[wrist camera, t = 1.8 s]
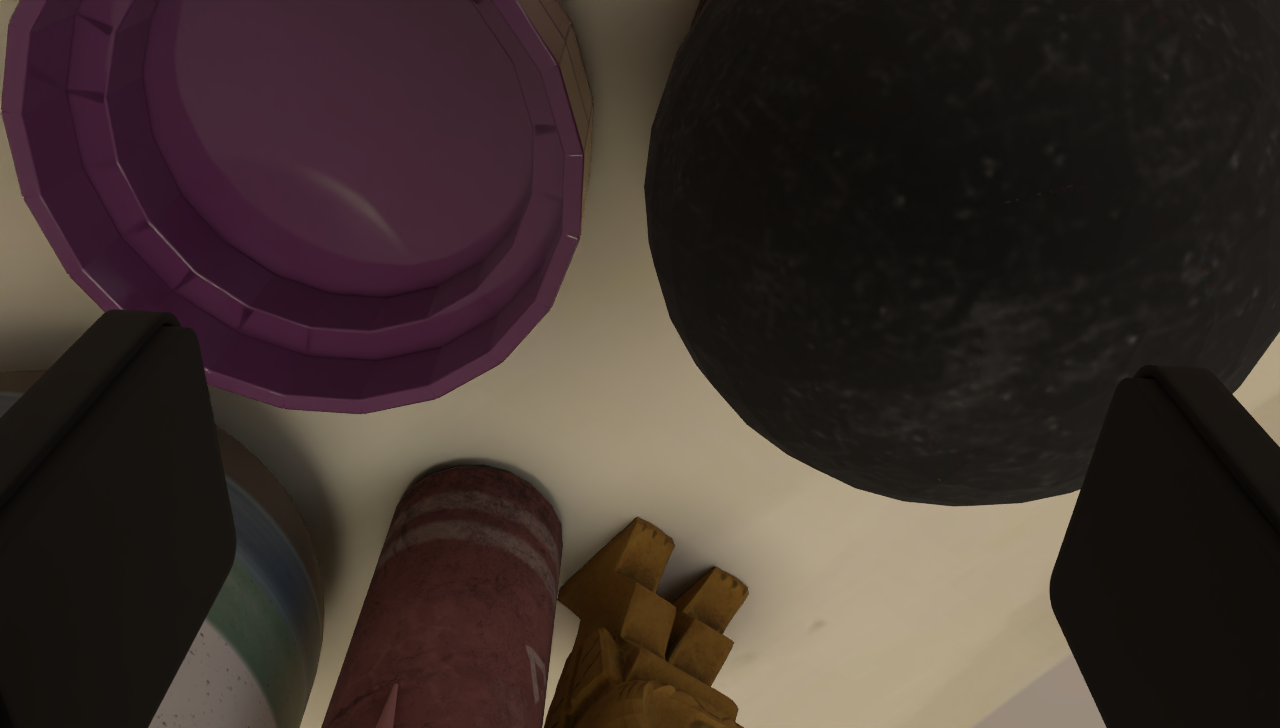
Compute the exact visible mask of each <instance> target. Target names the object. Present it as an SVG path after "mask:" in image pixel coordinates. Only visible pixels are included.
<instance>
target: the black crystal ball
mask: <svg viewBox="0 0 1280 728" xmlns="http://www.w3.org/2000/svg"><path fill="white" fill-rule="evenodd" d="M644 189H645V202H646V214H647V226H648V239H649V245H650V250H651V254H652V258H653V262H654V266H655V270H656V273H657V276H658V280H659V283H660V286H661V290H662V293H663V296H664V299H665V303H666V306H667V309H668V313H669V316H670V319H671V321H672V323H673V324H674V326H675V328H676V330H677V332H678V333H679V335H680V337H681V339H682V341H683V342H684V344H685V346H686V348H687V349H688V351H689V353H690V355H691V357H692V358H693V360H694V362H695V364H696V365H697V366H698V368H699V369H700V370H701V372H702V373H703V374H704V375H705V377H706V378H707V379H708V380H709V382H710V383H711V384H712V385H713V387H714V388H715V389H716V390H717V391H718V392H719V393H720V395H721V396H722V397H723V398H724V399H725V400H726V401H727V402H728V404H729V405H730V406H731V407H732V408H733V409H734V410H735V412H736V413H737V414H738V415H739V416H740V417H741V418H742V419H743V421H744V422H745V423H746V424H747V425H748V426H750V427H751V428H752V429H754V430H755V431H756V432H758V433H759V434H760V435H762V436H763V437H764V438H766V439H767V440H768V441H770V442H771V443H773V444H774V445H775V446H777V447H778V448H779V449H781V450H782V451H783V452H785V453H786V454H787V455H789V456H791V457H793V458H795V459H797V460H799V461H801V462H803V463H805V464H807V465H809V466H811V467H812V468H815V469H817V470H819V471H821V472H823V473H825V474H827V475H829V476H831V477H833V478H835V479H837V480H840V481H842V482H844V483H846V484H848V485H850V486H852V487H854V488H857V489H860V490H864V491H868V492H871V493H875V494H879V495H882V496H886V497H890V498H893V499H897V500H901V501H906V502H916V503H926V504H936V505H946V506H976V505H994V504H1012V503H1024V502H1028V501H1033V500H1038V499H1043V498H1048V497H1053V496H1058V495H1063V494H1067V493H1071V492H1074V491H1076V490H1079V489H1081V488H1082V485H1083V482H1084V479H1085V476H1086V473H1087V470H1088V467H1089V464H1090V461H1091V458H1092V456H1093V453H1094V450H1095V447H1096V444H1097V441H1098V438H1099V435H1100V432H1101V429H1102V426H1103V424H1104V421H1105V418H1106V415H1107V412H1108V409H1109V406H1110V403H1111V400H1112V397H1113V395H1114V392H1115V390H1116V387H1117V385H1118V384H1119V383H1120V381H1121V380H1122V379H1125V378H1134V375H1135V374H1136V373H1137V372H1138V370H1139V369H1140V368H1141V367H1143V366H1145V365H1165V366H1184V367H1200V368H1207V369H1208V370H1210V371H1211V372H1212V373H1214V375H1215V376H1216V377H1217V378H1218V379H1219V380H1220V381H1221V382H1222V384H1223V385H1224V386H1225V387H1226V388H1227V389H1228V390H1229V391H1230V392H1231V394H1233V393H1234V392H1235V391H1236V390H1237V389H1238V388H1239V387H1240V386H1241V384H1242V383H1243V382H1244V380H1245V379H1246V377H1247V376H1248V375H1249V373H1250V372H1251V371H1252V369H1253V368H1254V366H1255V365H1256V364H1257V362H1258V361H1259V359H1260V358H1261V357H1262V355H1263V354H1264V353H1265V351H1266V350H1267V348H1268V347H1269V346H1270V344H1271V343H1272V341H1273V340H1274V339H1275V337H1276V336H1277V335H1278V333H1279V332H1280V0H700V2H699V5H698V8H697V11H696V14H695V16H694V19H693V22H692V25H691V28H690V31H689V32H688V34H687V36H686V38H685V39H684V41H683V43H682V45H681V46H680V48H679V50H678V52H677V54H676V57H675V60H674V62H673V65H672V68H671V71H670V74H669V77H668V80H667V83H666V86H665V89H664V92H663V95H662V98H661V101H660V104H659V107H658V110H657V113H656V116H655V119H654V122H653V125H652V129H651V137H650V145H649V153H648V161H647V169H646V177H645V185H644Z"/></svg>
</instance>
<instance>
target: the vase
mask: <svg viewBox="0 0 1280 728" xmlns="http://www.w3.org/2000/svg"><path fill="white" fill-rule="evenodd" d="M45 372H46V371H16V372H5V373H0V418H1V417H2V416H3V415H4V414H5V413H6V412H7V411H8V410H9V409H10V408H11V407H12V406H13V405H14V404H15V403H16V402H17V401H18V400H19V399H20V398H21V397H22V396H23V395H24V394H25V393H26V392H27V390H28V389H29V388H30V387H31V386H32V385H33V384H34V383H35V382H36V381H37V380H38V379H39V378H40V377H41V376H42V375H43V374H44V373H45ZM215 427H216V432H217V437H218V443H219V448H220V453H221V458H222V463H223V468H224V473H225V479H226V484H227V489H228V494H229V499H230V504H231V509H232V515H233V520H234V525H235V530H236V538H237V544H236V554H235V559H234V563H233V566H232V568H231V571H230V573H229V575H228V577H227V579H226V580H225V582H224V584H223V586H222V588H221V590H220V592H219V594H218V596H217V598H216V599H215V601H214V603H213V605H212V607H211V609H210V611H209V613H208V615H207V617H206V619H205V620H204V622H203V624H202V626H201V628H200V630H199V632H198V634H197V636H196V638H195V640H194V641H193V643H192V645H191V647H190V649H189V651H188V653H187V655H186V657H185V659H184V661H183V662H182V664H181V666H180V668H179V670H178V672H177V674H176V676H175V678H174V680H173V681H172V683H171V685H170V687H169V689H168V691H167V693H166V695H165V697H164V699H163V701H162V702H161V704H160V706H159V708H158V710H157V712H156V714H155V716H154V718H153V720H152V722H151V723H150V725H149V727H148V728H299V727H300V724H301V721H302V718H303V715H304V712H305V709H306V705H307V702H308V699H309V696H310V692H311V689H312V686H313V682H314V679H315V676H316V672H317V667H318V662H319V656H320V651H321V646H322V640H323V627H324V604H323V591H322V582H321V575H320V570H319V566H318V562H317V558H316V554H315V550H314V546H313V543H312V540H311V538H310V535H309V532H308V530H307V528H306V526H305V524H304V521H303V520H302V518H301V516H300V514H299V512H298V510H297V509H296V507H295V505H294V503H293V501H292V500H291V498H290V497H289V495H288V494H287V492H286V491H285V489H284V488H283V487H282V486H281V484H280V483H279V482H278V480H277V479H276V478H275V477H274V475H273V474H272V473H271V472H270V471H269V470H268V469H267V468H266V467H265V465H264V464H263V463H262V462H261V461H260V460H259V459H258V458H256V457H255V456H254V455H253V454H252V453H251V452H250V451H249V450H248V449H247V448H245V447H244V446H243V445H242V444H241V443H240V442H238V441H237V440H236V439H235V438H233V437H232V436H231V435H229V434H228V433H227V432H225V431H224V430H222V429H221V428H219V427H218V426H216V425H215Z"/></svg>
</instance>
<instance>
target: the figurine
mask: <svg viewBox="0 0 1280 728" xmlns="http://www.w3.org/2000/svg"><path fill="white" fill-rule="evenodd" d="M674 546H675V545H674V542H673V540H672V538H670V537H669V536H667V535H665V534H664V533H663V532H662V531H661V530H659V529H658V528H657V527H655V526H654V525H652V524H650V523H649V522H646V521H644V520H642V519H640V518H638V517H637V518H636V519H635V520H634V521H633V522H632V523H631V524H630V525H629V526H628V527H627V528H626V529H625V530H624V531H622V532H621V533H620V534H619V535H617V536H616V537H615V538H614V539H613V540H612V541H610V542H609V543H608V544H607V545H606V546H605V547H604V548H603V549H602V550H601V551H600V552H598V553H597V554H596V555H595V556H594V557H593V558H592V559H591V560H590V561H589V562H588V563H587V564H585V565H584V566H583V567H582V568H581V569H580V570H579V571H578V572H577V573H576V574H575V575H574V576H573V577H572V578H571V579H570V580H569V581H568V582H567V583H566V584H565V585H564V586H563V587H562V588H561V589H560V590H559V594H558V598H557V600H558V601H559V602H560V603H562V604H563V605H565V606H566V607H568V608H569V609H570V610H571V611H572V612H573V613H574V614H575V615H576V616H578V617H579V618H580V619H581V621H580V625H579V630H578V634H577V637H576V640H575V643H574V646H573V649H572V652H571V653H570V655H569V656H568V658H567V659H566V662H565V665H564V668H563V671H562V674H561V677H560V679H559V682H558V685H557V688H556V692H555V695H554V698H553V700H552V703H551V705H550V708H549V711H548V714H547V717H546V721H545V725H544V728H744V727H742V726H740V725H739V724H737V723H736V722H735V720H736V716H737V713H738V707H737V705H736V704H735V703H734V702H733V700H731V699H730V698H729V697H727V696H725V695H724V694H722V693H720V692H719V691H717V690H715V689H714V688H712V687H711V685H712V683H713V682H714V680H715V678H716V676H717V674H718V672H719V671H720V669H721V667H722V666H723V664H724V662H725V660H726V658H727V656H728V655H729V653H730V651H731V649H732V647H733V644H734V642H733V641H732V640H730V639H729V638H727V637H725V636H724V635H722V634H723V632H724V631H725V629H726V627H727V625H728V624H729V622H730V621H731V619H732V618H733V616H734V615H735V613H736V612H737V610H738V609H739V608H740V606H741V605H742V604H743V602H744V601H745V599H746V598H747V596H748V594H749V592H748V587H747V586H745V585H744V584H743V583H742V582H741V581H740V580H738V579H737V578H736V577H734V576H732V575H730V574H728V573H727V572H724V571H722V570H720V569H719V568H717V567H715V568H713V569H712V570H710V571H709V572H708V573H706V574H705V575H704V576H703V577H702V578H701V579H700V580H698V581H697V582H696V583H695V584H694V585H693V586H692V587H690V588H689V589H688V590H687V591H686V592H685V593H684V594H683V595H682V596H680V597H679V598H678V599H677V600H676V601H675V602H674V603H673V604H671V603H670V602H668V601H666V600H665V599H663V598H661V597H660V596H658V595H656V594H655V593H656V591H657V588H658V585H659V582H660V579H661V576H662V574H663V571H664V569H665V566H666V564H667V562H668V560H669V557H670V555H671V553H672V551H673V548H674Z"/></svg>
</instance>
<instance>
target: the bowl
mask: <svg viewBox="0 0 1280 728" xmlns="http://www.w3.org/2000/svg"><path fill="white" fill-rule="evenodd" d="M9 22H10V23H9V25H8V35H7V46H6V58H5V69H4V81H3V92H2V104H1V110H2V117H3V121H4V125H5V129H6V133H7V137H8V141H9V145H10V149H11V153H12V157H13V161H14V165H15V169H16V173H17V177H18V181H19V185H20V189H21V193H22V196H23V197H24V201H25V203H26V204H27V206H28V208H29V209H30V211H31V213H32V214H33V216H34V218H35V220H36V221H37V223H38V225H39V226H40V228H41V230H42V231H43V233H44V235H45V237H46V238H47V240H48V242H49V243H50V245H51V247H52V248H53V250H54V252H55V254H56V255H57V257H58V259H59V260H60V262H61V264H62V266H63V267H64V269H65V271H66V272H67V274H70V275H69V276H70V278H71V279H72V280H73V281H74V282H75V283H76V284H77V285H78V286H79V287H80V288H81V289H82V290H83V291H84V292H85V293H86V294H87V295H88V296H89V297H90V298H91V299H92V300H93V301H94V302H95V303H96V304H97V305H98V306H99V307H100V308H101V309H102V310H103V311H104V312H105V313H106V312H107V311H109V310H114V309H118V310H137V311H156V312H170V313H172V314H173V315H175V316H176V318H177V319H178V321H179V323H180V325H181V327H189V328H191V329H193V330H194V332H195V333H196V335H197V338H198V341H199V345H200V350H201V355H202V360H203V365H204V371H205V376H206V381H207V384H208V385H211V386H214V387H217V388H221V389H224V390H227V391H230V392H233V393H236V394H239V395H242V396H245V397H248V398H251V399H254V400H258V401H261V402H264V403H267V404H270V405H273V406H276V407H279V408H285V409H291V410H306V411H321V412H336V413H351V414H362V413H363V414H366V413H371V412H376V411H381V410H386V409H391V408H396V407H400V406H405V405H410V404H415V403H420V402H425V401H429V400H434V399H436V398H440V397H441V396H443V395H445V394H447V393H449V392H450V391H452V390H454V389H456V388H458V387H459V386H461V385H463V384H465V383H467V382H469V381H470V380H472V379H474V378H476V377H478V376H479V375H481V374H483V373H485V372H487V371H488V370H490V369H492V368H494V367H496V366H498V365H499V364H500V363H502V362H503V361H504V360H505V359H506V358H507V357H508V356H509V355H510V354H511V352H512V351H513V350H514V349H515V348H516V347H517V346H518V345H519V344H520V343H521V341H522V340H523V339H524V338H525V337H526V336H527V335H528V334H529V333H530V332H531V330H532V329H533V328H534V327H535V326H536V325H537V324H538V323H539V322H540V321H541V319H542V318H543V317H544V316H545V315H546V314H547V313H548V312H549V311H550V308H551V307H552V306H553V303H554V301H555V298H556V296H557V294H558V291H559V289H560V286H561V284H562V281H563V279H564V276H565V274H566V272H567V269H568V267H569V264H570V262H571V259H572V257H573V255H574V252H575V250H576V247H577V245H578V242H579V240H580V236H581V230H582V223H583V217H584V210H585V203H586V196H587V190H588V183H589V176H590V158H591V138H592V118H593V102H592V101H593V99H592V96H591V92H590V88H589V85H588V81H587V77H586V73H585V70H584V66H583V62H582V59H581V55H580V51H579V48H578V44H577V40H576V37H575V33H574V29H573V26H572V24H570V20H569V18H568V16H567V15H566V13H565V12H564V10H563V9H562V7H561V5H560V4H559V2H558V1H557V0H20V1H19V3H18V5H17V7H16V9H15V11H14V13H13V15H12V17H11V18H10V21H9Z"/></svg>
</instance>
